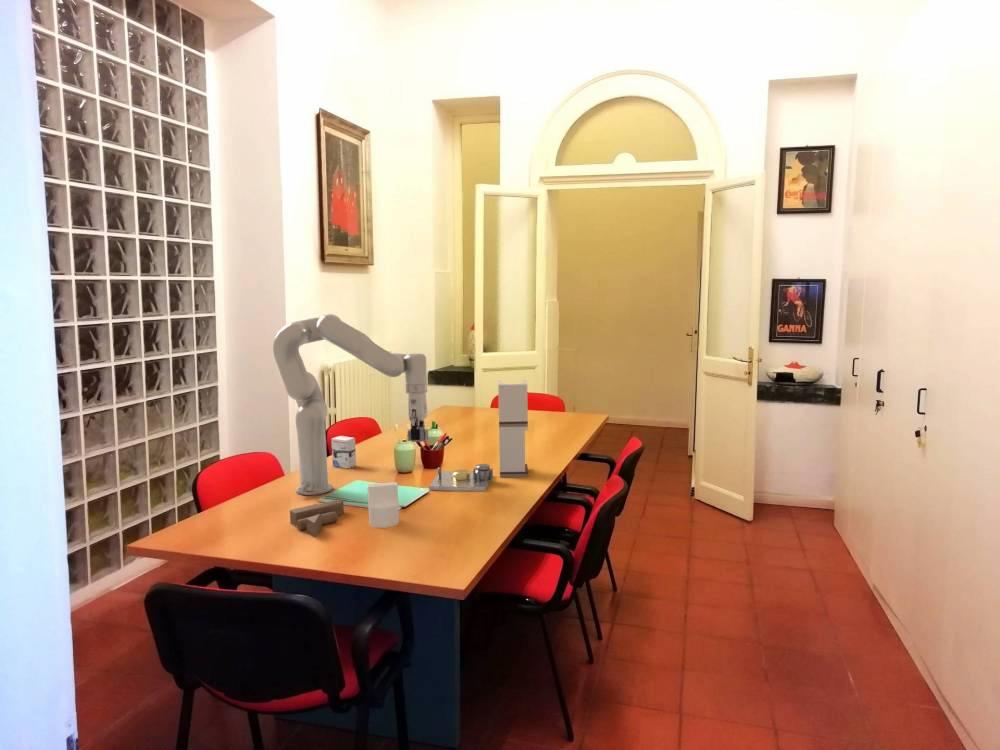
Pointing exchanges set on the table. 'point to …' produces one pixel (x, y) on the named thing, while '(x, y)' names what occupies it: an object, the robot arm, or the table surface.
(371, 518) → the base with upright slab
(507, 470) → the grey tall pillar
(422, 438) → the planet gear
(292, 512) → the wooden block set
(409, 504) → the table surface
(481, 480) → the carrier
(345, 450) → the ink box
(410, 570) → the table surface
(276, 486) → the table surface
